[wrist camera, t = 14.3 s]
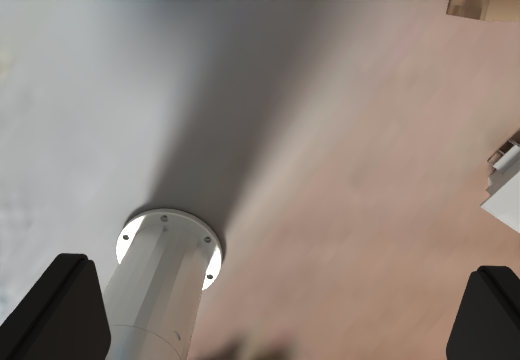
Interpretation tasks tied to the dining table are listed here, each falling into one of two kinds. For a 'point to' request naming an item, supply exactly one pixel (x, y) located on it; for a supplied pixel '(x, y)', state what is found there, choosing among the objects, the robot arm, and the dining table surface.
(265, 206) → the dining table surface
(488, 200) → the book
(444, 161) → the dining table surface
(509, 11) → the drop box
